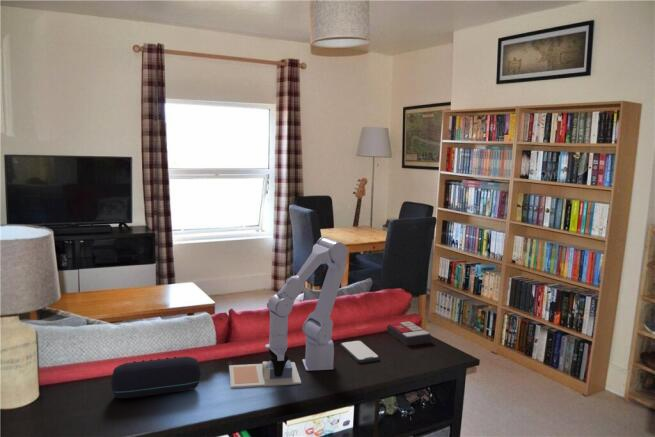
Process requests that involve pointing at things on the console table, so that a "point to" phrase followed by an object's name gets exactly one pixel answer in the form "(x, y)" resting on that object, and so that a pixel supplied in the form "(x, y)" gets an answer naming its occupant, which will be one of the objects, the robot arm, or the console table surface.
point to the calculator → (408, 333)
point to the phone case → (359, 351)
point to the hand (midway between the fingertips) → (277, 371)
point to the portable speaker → (155, 377)
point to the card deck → (269, 370)
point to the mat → (258, 376)
